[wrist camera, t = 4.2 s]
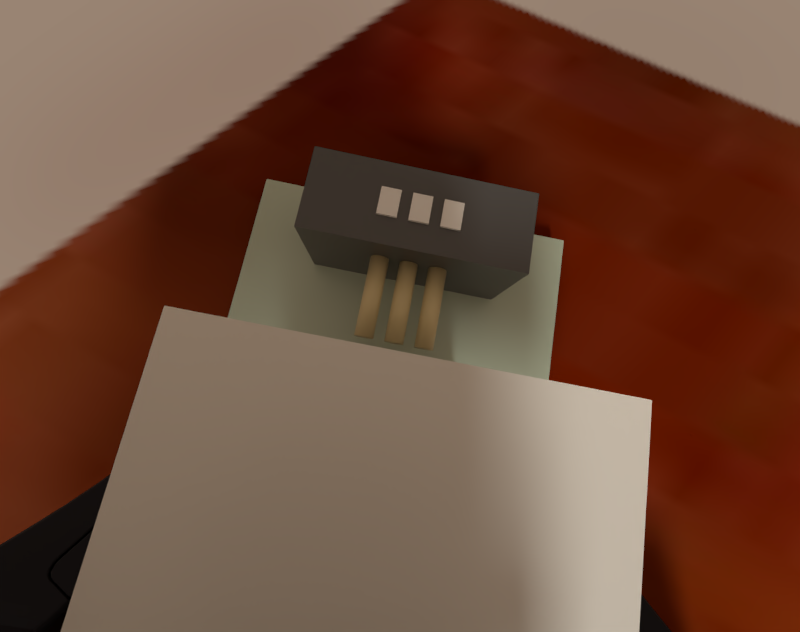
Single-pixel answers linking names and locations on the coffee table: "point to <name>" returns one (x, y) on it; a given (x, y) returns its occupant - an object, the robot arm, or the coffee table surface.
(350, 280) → the board
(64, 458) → the coffee table surface
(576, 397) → the plug housing
